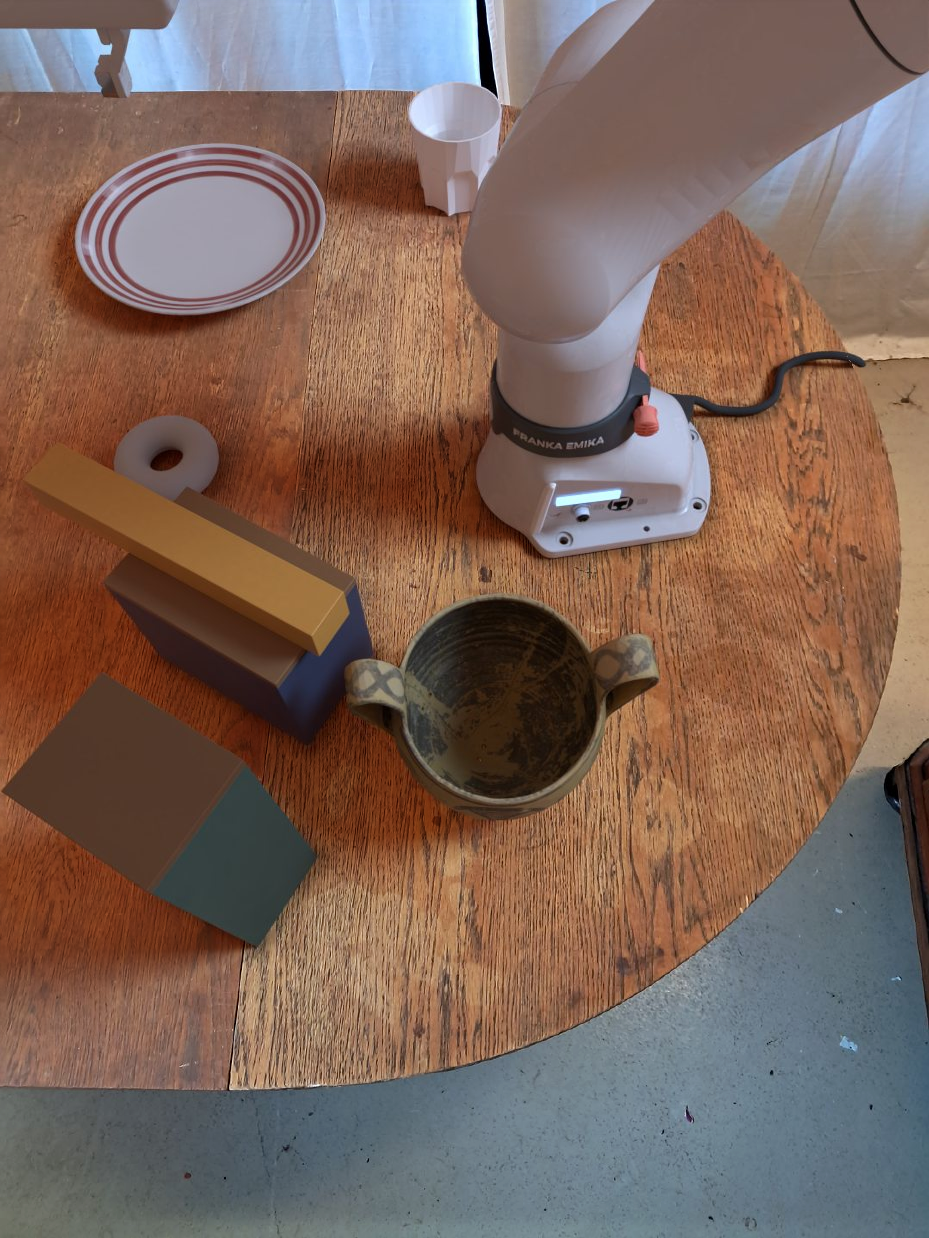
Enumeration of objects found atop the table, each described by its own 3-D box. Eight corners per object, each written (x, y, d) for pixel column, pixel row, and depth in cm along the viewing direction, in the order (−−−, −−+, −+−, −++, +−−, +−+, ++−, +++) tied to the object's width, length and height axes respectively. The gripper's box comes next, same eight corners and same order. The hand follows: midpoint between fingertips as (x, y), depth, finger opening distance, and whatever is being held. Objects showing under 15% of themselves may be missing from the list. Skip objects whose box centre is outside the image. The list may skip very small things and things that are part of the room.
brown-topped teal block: (156, 878, 71) (0, 790, 47) (219, 793, 74) (101, 671, 50) (257, 947, 68) (146, 891, 45) (318, 856, 71) (243, 759, 48)
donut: (106, 505, 86) (204, 521, 85) (91, 484, 83) (193, 500, 82) (142, 423, 91) (236, 437, 89) (130, 401, 88) (227, 415, 86)
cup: (407, 168, 107) (402, 88, 98) (490, 157, 107) (491, 76, 99) (421, 226, 102) (416, 147, 94) (507, 215, 103) (510, 135, 94)
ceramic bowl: (611, 637, 80) (640, 551, 66) (645, 827, 72) (684, 775, 59) (361, 658, 79) (337, 575, 65) (368, 852, 71) (344, 804, 58)
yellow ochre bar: (41, 505, 70) (21, 479, 66) (75, 468, 71) (57, 441, 68) (319, 657, 64) (311, 636, 61) (350, 613, 65) (344, 591, 62)
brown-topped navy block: (160, 657, 79) (101, 582, 66) (230, 572, 83) (186, 485, 70) (308, 746, 75) (275, 685, 63) (374, 653, 79) (355, 577, 66)
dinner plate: (113, 160, 108) (103, 135, 105) (340, 165, 107) (336, 139, 104) (59, 333, 96) (46, 310, 93) (314, 339, 95) (309, 316, 92)
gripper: (-322, -154, 42) (-140, 124, 54) (115, -153, 41) (197, 126, 54) (-270, -220, 44) (-108, 59, 57) (139, -219, 44) (212, 61, 57)
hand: (43, 92), depth 55 cm, fingers open, 8 cm apart
